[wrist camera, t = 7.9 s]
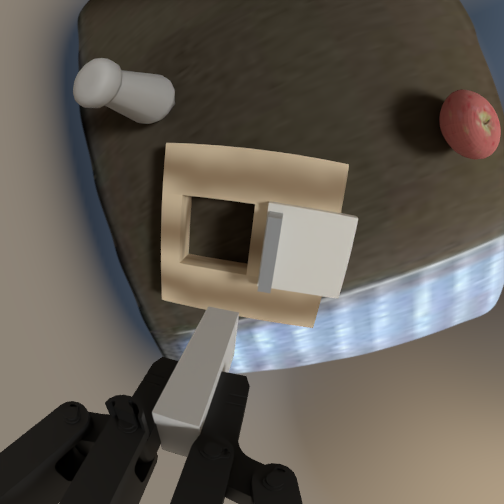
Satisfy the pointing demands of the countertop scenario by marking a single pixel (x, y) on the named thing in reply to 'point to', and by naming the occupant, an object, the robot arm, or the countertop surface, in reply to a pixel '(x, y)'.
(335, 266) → the shutter
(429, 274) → the countertop surface
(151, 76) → the salt shaker
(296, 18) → the countertop surface
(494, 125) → the apple
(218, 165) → the socket board
